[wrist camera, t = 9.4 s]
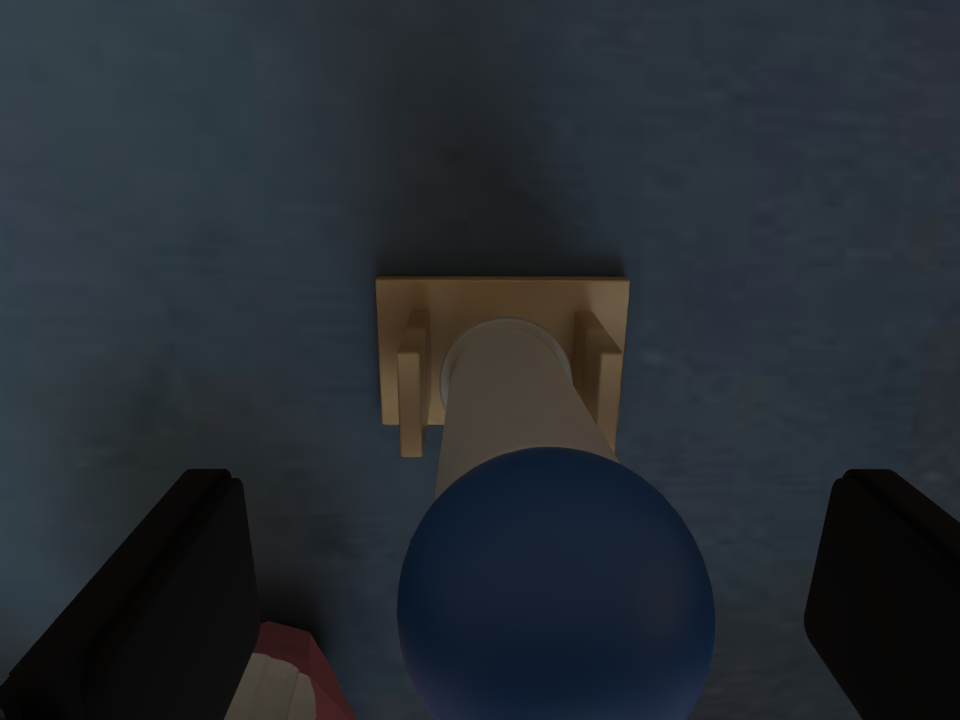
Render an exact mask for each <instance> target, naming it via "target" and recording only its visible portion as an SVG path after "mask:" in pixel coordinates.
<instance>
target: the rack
mask: <svg viewBox="0 0 960 720" xmlns="http://www.w3.org/2000/svg"><path fill="white" fill-rule="evenodd" d="M375 287H376V308H377V328H378V349H379V369H380V390H381V411H382V423H383V424H384V425H399V432H400V455H401V457H422V455H423V449H424V443H425V436H426V430H427V425H444V422H445V414H446V411H445V409H444V406H443V403H442V400H441V396H440V388H439V379H440V372H441V367H442V363H443V360H444V357H445V354H446V352H447V350H448V348H449V347H450V345H451V344H452V342H453V341H454V340H455V339H456V338H457V337H458V335H459V334H461V333H462V332H463V331H464V330H465V329H467V328H468V327H470V326H471V325H473V324H475V323H477V322H479V321H481V320H484V319H487V318H491V317H496V316H516V317H521V318H525V319H528V320H531V321H533V322H535V323H537V324H539V325H541V326H542V327H544V328H545V329H547V330H548V331H549V332H550V333H551V334H552V335H553V336H554V337H555V338H556V339H557V340H558V342H559V343H560V345H561V346H562V348H563V349H564V351H565V352H566V355H567V357H568V359H569V362H570V365H571V369H572V375H573V386H574V388H575V390H576V391H577V393H578V395H579V396H580V398H581V400H582V401H583V403H584V405H585V406H586V408H587V410H588V411H589V413H590V415H591V416H592V418H593V420H594V421H595V423H596V425H597V426H598V428H599V430H600V431H601V433H602V434H603V436H604V438H605V439H606V441H607V443H608V444H609V446H610V448H611V449H612V451H613V453H614V454H615V445H616V434H617V424H618V416H619V405H620V393H621V381H622V370H623V358H624V347H625V335H626V324H627V312H628V300H629V289H630V280H628V279H627V278H626V277H536V276H378V277H377V278H376V280H375Z"/></svg>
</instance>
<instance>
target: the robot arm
mask: <svg viewBox="0 0 960 720" xmlns="http://www.w3.org/2000/svg"><path fill="white" fill-rule="evenodd" d="M260 625H261V618H260V609H259V602H258V594H257V587H256V579H255V572H254V564H253V557H252V549H251V542H250V534H249V527H248V519H247V512H246V504H245V497H244V489H243V484H242V482H241V480H240V479H239V478H232V477H231V474H230V472H229V471H228V470H227V469H188V470H187V471H185V472H184V473H183V474H182V476H181V477H180V478H179V479H178V480H177V481H176V482H175V484H174V485H173V486H172V487H171V488H170V489H169V490H168V492H167V493H166V494H165V495H164V496H163V497H162V498H161V500H160V501H159V502H158V503H157V504H156V505H155V506H154V508H153V509H152V510H151V511H150V512H149V513H148V514H147V516H146V517H145V518H144V519H143V520H142V521H141V523H140V524H139V525H138V526H137V527H136V528H135V529H134V531H133V532H132V533H131V534H130V535H129V536H128V537H127V539H126V540H125V541H124V542H123V543H122V544H121V545H120V547H119V548H118V549H117V550H116V551H115V552H114V553H113V555H112V556H111V557H110V558H109V559H108V560H107V562H106V563H105V564H104V565H103V566H102V567H101V568H100V570H99V571H98V572H97V573H96V574H95V575H94V576H93V578H92V579H91V580H90V581H89V582H88V583H87V584H86V586H85V587H84V588H83V589H82V590H81V591H80V592H79V594H78V595H77V596H76V597H75V598H74V599H73V600H72V602H71V603H70V604H69V605H68V606H67V607H66V609H65V610H64V611H63V612H62V613H61V614H60V615H59V617H58V618H57V619H56V620H55V621H54V622H53V623H52V625H51V626H50V627H49V628H48V629H47V630H46V631H45V633H44V634H43V635H42V636H41V637H40V638H39V639H38V641H37V642H36V643H35V644H34V645H33V646H32V647H31V649H30V650H29V651H28V652H27V653H26V654H25V656H24V657H23V658H22V659H21V660H20V661H19V662H18V664H17V665H16V666H15V667H14V668H13V669H12V670H11V672H10V673H9V675H10V676H9V677H8V679H7V680H6V681H5V682H4V683H3V684H2V685H1V687H0V720H224V718H225V716H226V714H227V711H228V709H229V707H230V704H231V702H232V700H233V697H234V695H235V693H236V690H237V688H238V686H239V683H240V681H241V679H242V676H243V674H244V672H245V669H246V667H247V665H248V662H249V660H250V658H251V655H252V653H253V651H254V648H255V646H256V644H257V641H258V637H259V633H260ZM804 626H805V631H806V634H807V636H808V639H809V640H810V642H811V644H812V645H813V647H814V648H815V650H816V651H817V653H818V654H819V655H820V657H821V658H822V660H823V661H824V663H825V664H826V666H827V667H828V669H829V670H830V672H831V673H832V675H833V676H834V678H835V679H836V681H837V682H838V684H839V685H840V686H841V688H842V689H843V691H844V692H845V694H846V695H847V697H848V698H849V700H850V701H851V703H852V704H853V706H854V707H855V709H856V710H857V712H858V713H859V715H860V716H861V718H862V719H863V720H960V523H959V522H958V521H957V520H956V519H954V518H953V517H952V516H950V515H949V514H948V513H947V512H945V511H944V510H943V509H942V508H940V507H939V506H938V505H936V504H935V503H934V502H933V501H931V500H930V499H929V498H927V497H926V496H925V495H924V494H922V493H921V492H920V491H918V490H917V489H916V488H915V487H913V486H912V485H911V484H909V483H908V482H907V481H906V480H904V479H903V478H902V477H900V476H899V475H898V474H897V473H895V472H893V471H892V470H889V469H850V470H849V471H847V472H846V473H845V474H844V475H843V478H839V479H837V480H836V481H835V482H834V484H833V486H832V490H831V495H830V499H829V504H828V508H827V513H826V517H825V522H824V527H823V531H822V536H821V540H820V545H819V550H818V554H817V559H816V563H815V568H814V573H813V577H812V582H811V586H810V591H809V595H808V600H807V605H806V609H805V614H804Z"/></svg>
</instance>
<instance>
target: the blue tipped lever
mask: <svg viewBox="0 0 960 720" xmlns="http://www.w3.org/2000/svg"><path fill="white" fill-rule="evenodd" d="M439 388H440V396H441V400H442V403H443V406H444V409H445V411H446V414H445V422H444V429H443V437H442V445H441V453H440V460H439V468H438V476H437V484H436V491H435V499H434V503H433V504H432V506H431V507H430V508H429V510H428V511H427V513H426V514H425V515H424V517H423V519H422V520H421V522H420V524H419V526H418V528H417V530H416V531H415V533H414V535H413V537H412V539H411V542H410V545H409V548H408V550H407V553H406V556H405V559H404V562H403V566H402V570H401V576H400V581H399V588H398V604H397V619H398V629H399V637H400V645H401V649H402V653H403V657H404V660H405V664H406V667H407V670H408V673H409V676H410V678H411V680H412V683H413V685H414V687H415V689H416V691H417V693H418V695H419V697H420V699H421V701H422V702H423V704H424V706H425V707H426V709H427V710H428V712H429V713H430V715H431V716H432V718H433V719H434V720H687V718H688V717H689V715H690V713H691V712H692V710H693V708H694V707H695V705H696V703H697V701H698V699H699V696H700V694H701V691H702V689H703V686H704V684H705V681H706V678H707V676H708V673H709V669H710V663H711V658H712V652H713V646H714V640H715V611H714V601H713V594H712V587H711V584H710V580H709V577H708V573H707V570H706V566H705V563H704V560H703V557H702V555H701V552H700V550H699V548H698V546H697V544H696V541H695V539H694V538H693V536H692V534H691V532H690V531H689V529H688V527H687V526H686V524H685V523H684V521H683V520H682V518H681V517H680V515H679V514H678V513H677V511H676V510H675V509H674V508H673V507H672V506H671V504H670V503H669V502H668V501H667V500H666V499H665V498H664V496H663V495H662V494H661V493H659V492H658V491H657V490H656V489H655V488H654V487H653V486H651V485H650V484H649V483H648V482H647V481H646V480H644V479H643V478H642V477H640V476H639V475H637V474H636V473H634V472H633V471H631V470H629V469H628V468H626V467H624V466H623V465H621V464H620V463H619V461H618V459H617V458H616V456H615V454H614V453H613V451H612V449H611V448H610V446H609V444H608V443H607V441H606V439H605V438H604V436H603V434H602V433H601V431H600V430H599V428H598V426H597V425H596V423H595V421H594V420H593V418H592V416H591V415H590V413H589V411H588V410H587V408H586V406H585V405H584V403H583V401H582V400H581V398H580V396H579V395H578V393H577V391H576V390H575V388H574V386H573V375H572V369H571V365H570V362H569V359H568V357H567V355H566V352H565V351H564V349H563V348H562V346H561V345H560V343H559V342H558V340H557V339H556V338H555V337H554V336H553V335H552V334H551V333H550V332H549V331H548V330H547V329H545V328H544V327H542V326H541V325H539V324H537V323H535V322H533V321H531V320H528V319H525V318H521V317H516V316H496V317H491V318H487V319H484V320H481V321H479V322H477V323H475V324H473V325H471V326H470V327H468V328H467V329H465V330H464V331H463V332H462V333H461V334H459V335H458V337H457V338H456V339H455V340H454V341H453V342H452V344H451V345H450V347H449V348H448V350H447V352H446V354H445V357H444V360H443V363H442V367H441V372H440V379H439Z"/></svg>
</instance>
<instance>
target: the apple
mask: <svg viewBox="0 0 960 720" xmlns="http://www.w3.org/2000/svg"><path fill="white" fill-rule="evenodd" d="M224 720H356V718H355V715H354V713H353V711H352V710H351V708H350V706H349V705H348V703H347V701H346V700H345V698H344V696H343V694H342V693H341V690H340V687H339V684H338V681H337V678H336V676H335V674H334V672H333V670H332V668H331V666H330V664H329V662H328V661H327V659H326V658H325V656H324V655H323V653H322V652H321V650H320V648H319V647H318V645H317V643H316V642H315V640H314V638H313V636H312V635H311V633H310V632H307V631H303V630H300V629H297V628H293V627H290V626H286V625H282V624H278V623H274V622H270V621H267V622H264V623H262V624H261V625H260V633H259V637H258V641H257V644H256V646H255V648H254V651H253V653H252V655H251V658H250V660H249V662H248V665H247V667H246V669H245V672H244V674H243V676H242V679H241V681H240V683H239V686H238V688H237V690H236V693H235V695H234V697H233V700H232V702H231V704H230V707H229V709H228V711H227V714H226V716H225V718H224Z"/></svg>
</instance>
